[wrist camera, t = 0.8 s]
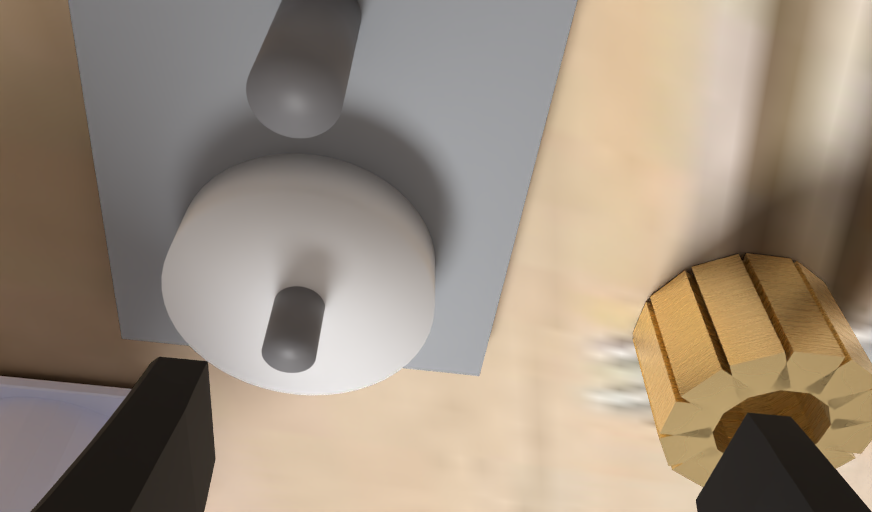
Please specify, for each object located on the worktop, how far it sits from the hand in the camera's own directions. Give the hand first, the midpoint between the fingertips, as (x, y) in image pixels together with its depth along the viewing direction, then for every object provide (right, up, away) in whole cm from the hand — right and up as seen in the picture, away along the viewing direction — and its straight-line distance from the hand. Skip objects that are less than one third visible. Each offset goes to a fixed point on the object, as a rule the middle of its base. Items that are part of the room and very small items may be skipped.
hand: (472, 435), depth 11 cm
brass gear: (+8, 0, +12) cm, 14 cm away
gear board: (-3, +8, +6) cm, 10 cm away
